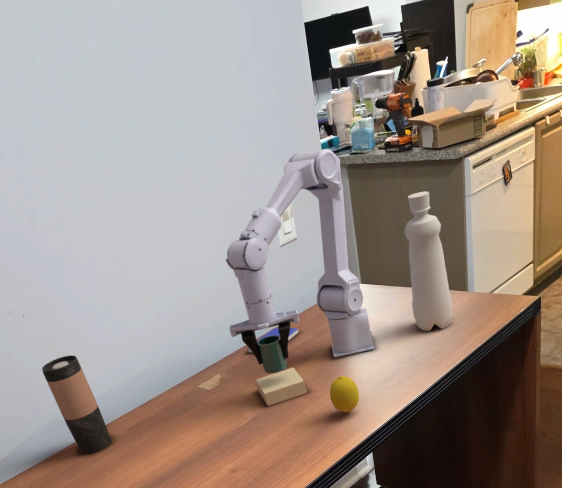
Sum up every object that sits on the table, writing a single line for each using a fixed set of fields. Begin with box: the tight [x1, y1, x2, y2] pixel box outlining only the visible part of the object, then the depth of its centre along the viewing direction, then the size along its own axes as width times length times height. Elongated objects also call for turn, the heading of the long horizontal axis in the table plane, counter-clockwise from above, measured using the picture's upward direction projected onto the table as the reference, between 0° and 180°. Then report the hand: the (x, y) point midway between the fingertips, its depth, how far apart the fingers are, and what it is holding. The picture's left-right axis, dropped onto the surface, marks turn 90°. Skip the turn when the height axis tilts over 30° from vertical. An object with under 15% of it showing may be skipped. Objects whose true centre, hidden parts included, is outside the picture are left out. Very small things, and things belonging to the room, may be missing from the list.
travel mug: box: [41, 355, 112, 455], centre depth 139 cm, size 8×8×20 cm
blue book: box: [247, 327, 299, 354], centre depth 172 cm, size 2×8×12 cm
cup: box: [257, 335, 288, 374], centre depth 140 cm, size 5×5×6 cm
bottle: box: [404, 191, 454, 332], centre depth 149 cm, size 9×9×30 cm
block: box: [255, 367, 308, 407], centre depth 144 cm, size 9×9×3 cm
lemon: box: [329, 375, 360, 414], centre depth 127 cm, size 6×6×8 cm
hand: (273, 359), depth 140 cm, fingers closed on cup, 5 cm apart
